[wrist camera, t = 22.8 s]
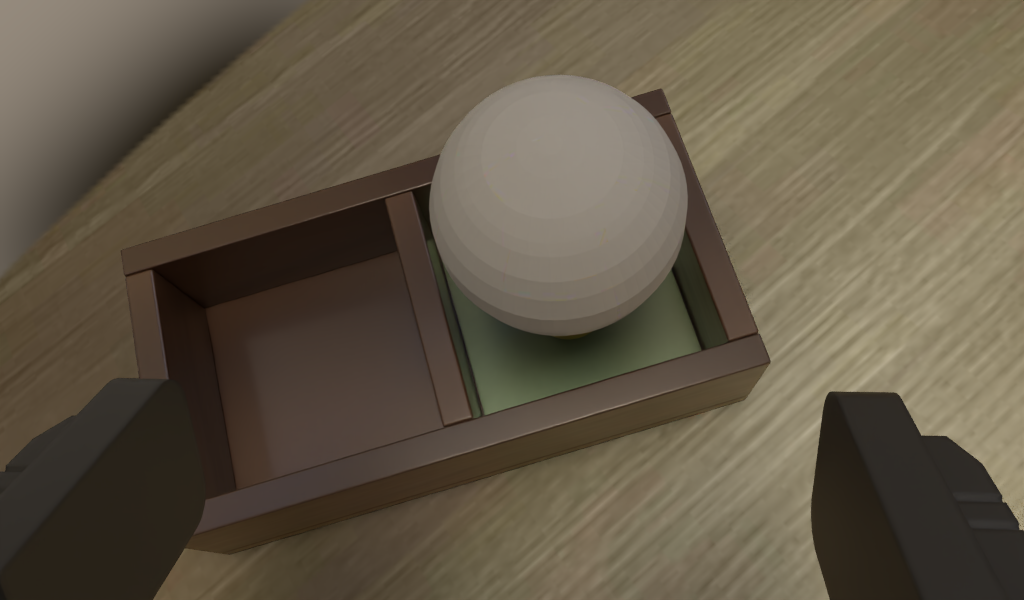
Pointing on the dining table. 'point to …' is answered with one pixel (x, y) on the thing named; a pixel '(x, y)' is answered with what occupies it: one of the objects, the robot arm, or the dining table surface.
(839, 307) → the dining table surface
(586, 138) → the light bulb
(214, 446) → the tray
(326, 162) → the dining table surface
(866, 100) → the dining table surface
